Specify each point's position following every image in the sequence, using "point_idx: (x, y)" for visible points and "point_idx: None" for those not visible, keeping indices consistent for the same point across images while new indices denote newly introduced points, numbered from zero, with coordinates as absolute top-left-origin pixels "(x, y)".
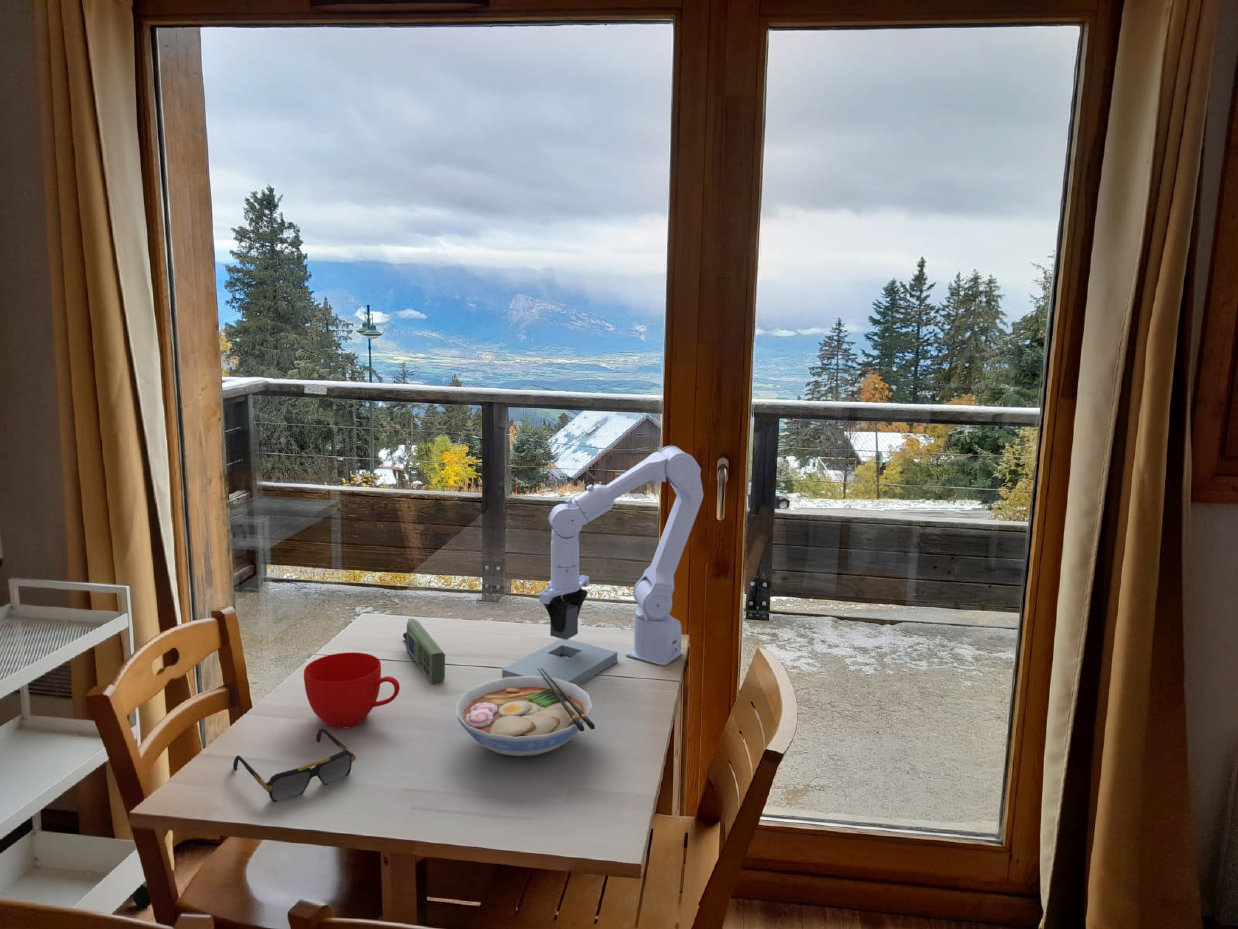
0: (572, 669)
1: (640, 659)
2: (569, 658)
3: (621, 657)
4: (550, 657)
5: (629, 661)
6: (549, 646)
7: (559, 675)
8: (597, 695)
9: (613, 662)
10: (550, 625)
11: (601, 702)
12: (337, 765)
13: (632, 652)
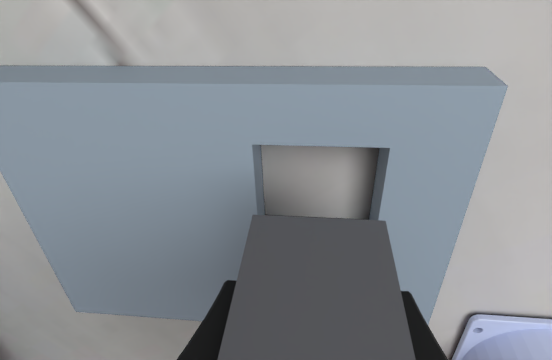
0: (195, 291)
1: (455, 351)
2: None
3: (458, 303)
4: (221, 184)
5: (434, 328)
6: (336, 102)
7: (127, 281)
8: (177, 340)
9: None
10: (241, 268)
11: (156, 355)
12: None
13: (495, 331)
